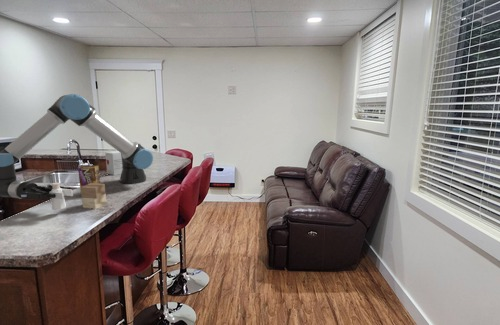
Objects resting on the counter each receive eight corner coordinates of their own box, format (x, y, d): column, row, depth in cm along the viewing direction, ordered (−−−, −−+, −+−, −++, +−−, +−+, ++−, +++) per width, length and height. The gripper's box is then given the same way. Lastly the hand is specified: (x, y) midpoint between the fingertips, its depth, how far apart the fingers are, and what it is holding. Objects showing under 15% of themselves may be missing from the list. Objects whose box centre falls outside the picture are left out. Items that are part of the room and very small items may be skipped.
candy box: (101, 193, 154) (99, 165, 151) (97, 195, 150) (94, 166, 147) (85, 192, 154) (82, 165, 151) (80, 195, 150) (77, 166, 147)
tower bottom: (94, 202, 139) (93, 193, 138) (106, 204, 138) (105, 194, 137) (82, 207, 133) (81, 197, 132) (95, 209, 131) (94, 198, 130)
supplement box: (106, 173, 197) (104, 151, 194) (118, 171, 204) (117, 150, 201) (113, 175, 192) (112, 153, 189) (126, 173, 199) (124, 151, 196)
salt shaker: (69, 205, 126) (66, 181, 124) (61, 210, 121) (58, 185, 119) (56, 205, 126) (53, 181, 124) (48, 210, 121) (44, 185, 119)
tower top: (91, 193, 138) (90, 183, 137) (105, 193, 137) (104, 183, 136) (82, 197, 131) (80, 187, 130) (96, 198, 131) (95, 187, 130)
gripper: (43, 192, 135) (84, 196, 130) (5, 204, 120) (50, 209, 114) (40, 177, 134) (82, 180, 128) (2, 187, 118) (48, 191, 112)
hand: (67, 194), depth 121 cm, fingers closed on salt shaker, 4 cm apart
